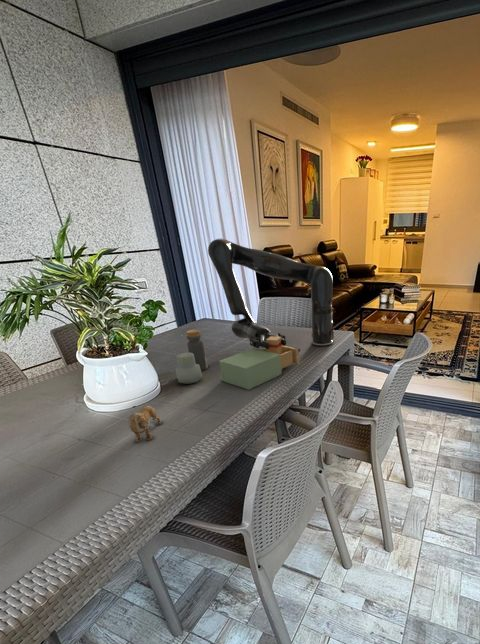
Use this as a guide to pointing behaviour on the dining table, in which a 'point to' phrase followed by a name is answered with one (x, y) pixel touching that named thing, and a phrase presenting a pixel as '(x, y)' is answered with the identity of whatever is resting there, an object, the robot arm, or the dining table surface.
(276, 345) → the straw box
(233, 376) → the cabinet
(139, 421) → the lion figurine
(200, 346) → the bottle
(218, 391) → the dining table surface
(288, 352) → the drawer
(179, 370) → the air freshener
